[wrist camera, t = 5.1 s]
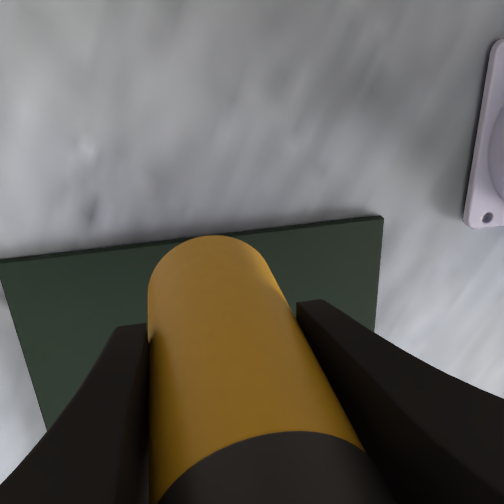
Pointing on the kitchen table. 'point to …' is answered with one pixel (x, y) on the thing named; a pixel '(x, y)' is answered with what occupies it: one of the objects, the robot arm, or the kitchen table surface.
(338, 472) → the glue stick
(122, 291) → the mat
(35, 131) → the kitchen table surface
